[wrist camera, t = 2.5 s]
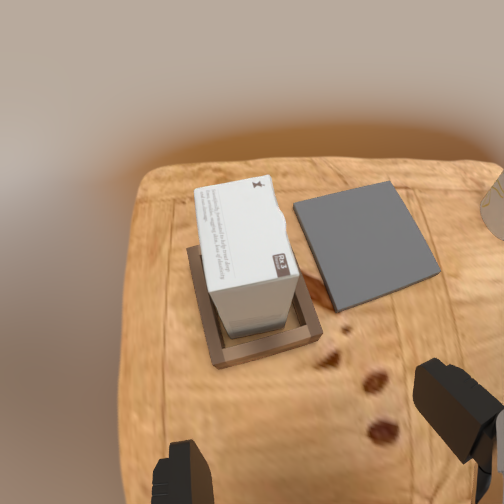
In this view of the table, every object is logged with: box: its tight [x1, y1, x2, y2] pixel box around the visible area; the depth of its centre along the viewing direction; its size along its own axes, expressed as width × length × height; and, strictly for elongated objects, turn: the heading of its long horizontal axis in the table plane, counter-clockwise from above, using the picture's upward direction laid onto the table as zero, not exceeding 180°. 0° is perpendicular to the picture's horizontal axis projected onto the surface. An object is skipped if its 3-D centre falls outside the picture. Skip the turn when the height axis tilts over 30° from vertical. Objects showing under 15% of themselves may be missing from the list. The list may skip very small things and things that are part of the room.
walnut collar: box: [186, 245, 323, 369], centre depth 32 cm, size 10×12×4 cm
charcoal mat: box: [293, 181, 441, 313], centre depth 35 cm, size 14×14×1 cm
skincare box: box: [194, 175, 299, 339], centre depth 27 cm, size 8×6×15 cm
